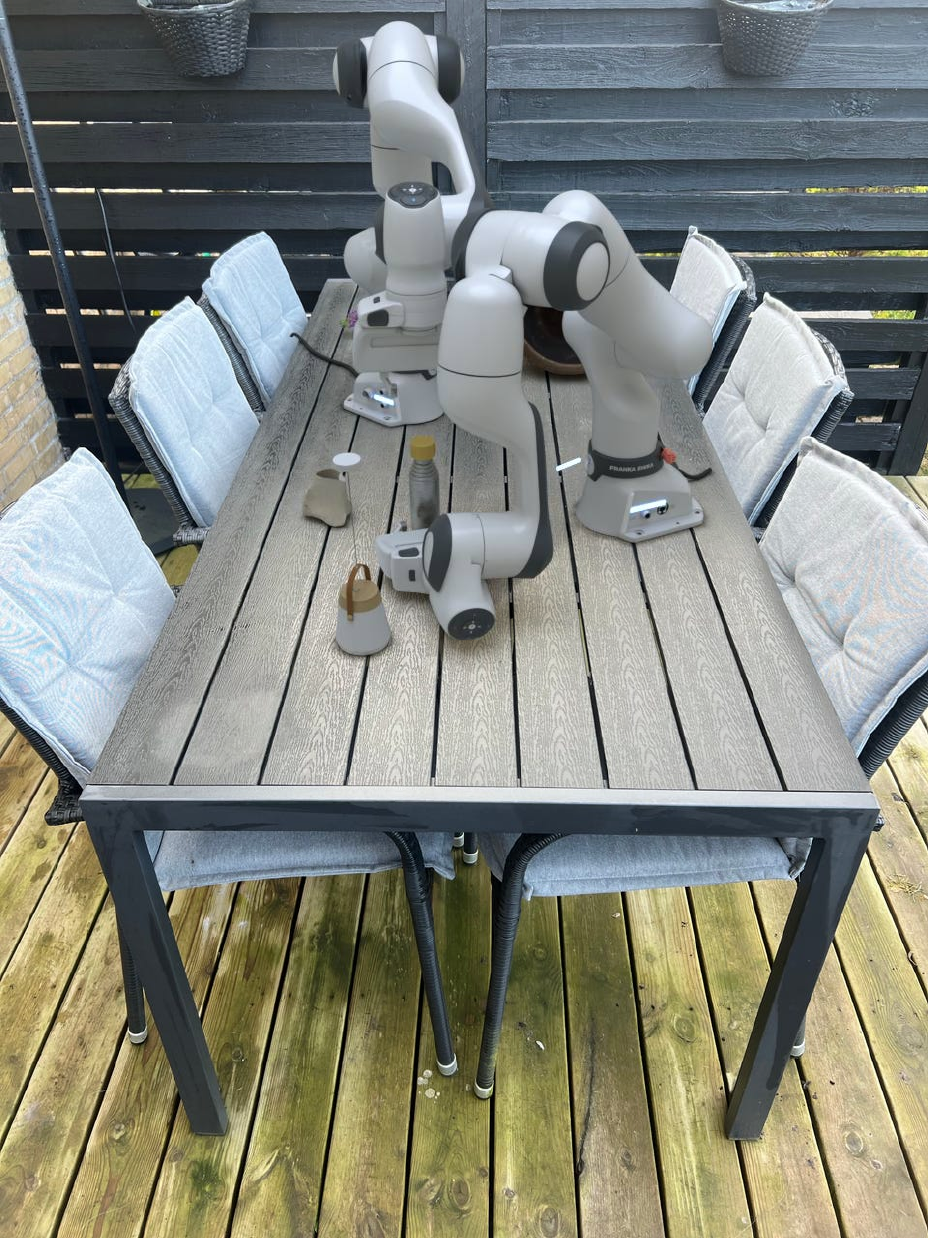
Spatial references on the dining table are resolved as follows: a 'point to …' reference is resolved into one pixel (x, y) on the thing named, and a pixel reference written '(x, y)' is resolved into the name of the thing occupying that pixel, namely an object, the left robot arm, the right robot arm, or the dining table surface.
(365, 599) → the pendant light
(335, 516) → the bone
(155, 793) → the dining table surface
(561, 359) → the pot
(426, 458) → the cap
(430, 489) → the bottle
